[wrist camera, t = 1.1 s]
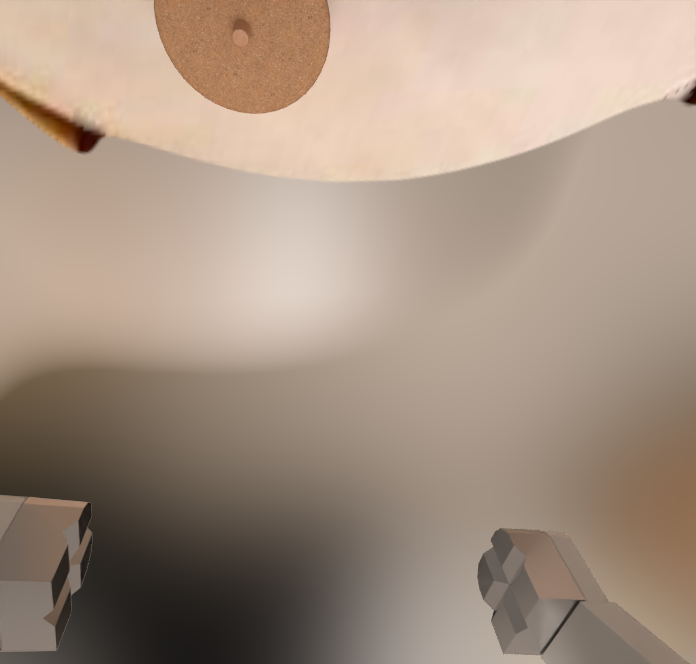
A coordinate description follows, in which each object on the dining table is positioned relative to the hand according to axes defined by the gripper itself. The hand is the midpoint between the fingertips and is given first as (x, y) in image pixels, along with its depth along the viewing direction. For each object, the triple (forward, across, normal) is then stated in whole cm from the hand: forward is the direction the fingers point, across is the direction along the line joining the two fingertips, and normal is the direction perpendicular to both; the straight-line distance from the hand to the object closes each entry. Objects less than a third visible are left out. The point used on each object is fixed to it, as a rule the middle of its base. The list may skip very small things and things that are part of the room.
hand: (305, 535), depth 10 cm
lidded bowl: (+45, +5, -12) cm, 47 cm away
